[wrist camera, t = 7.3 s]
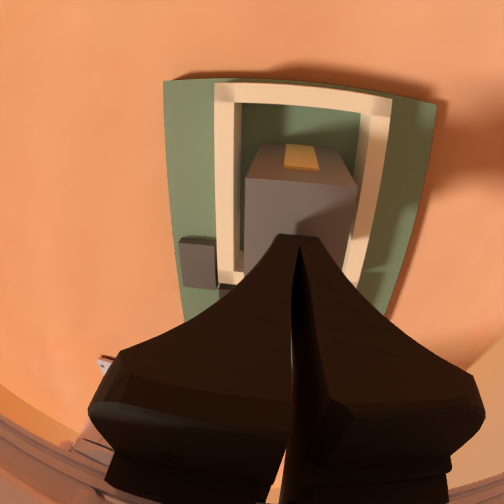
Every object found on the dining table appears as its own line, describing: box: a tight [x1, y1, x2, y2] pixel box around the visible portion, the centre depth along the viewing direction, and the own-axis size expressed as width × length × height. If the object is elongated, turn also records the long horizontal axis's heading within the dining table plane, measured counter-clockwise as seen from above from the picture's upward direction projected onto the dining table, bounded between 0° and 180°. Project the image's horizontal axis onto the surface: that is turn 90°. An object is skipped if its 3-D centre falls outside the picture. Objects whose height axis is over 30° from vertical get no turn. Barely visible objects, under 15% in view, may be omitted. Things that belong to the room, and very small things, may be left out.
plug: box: [244, 142, 358, 277], centre depth 12 cm, size 4×3×6 cm
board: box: [163, 78, 437, 382], centre depth 17 cm, size 20×13×3 cm, turn 178°
